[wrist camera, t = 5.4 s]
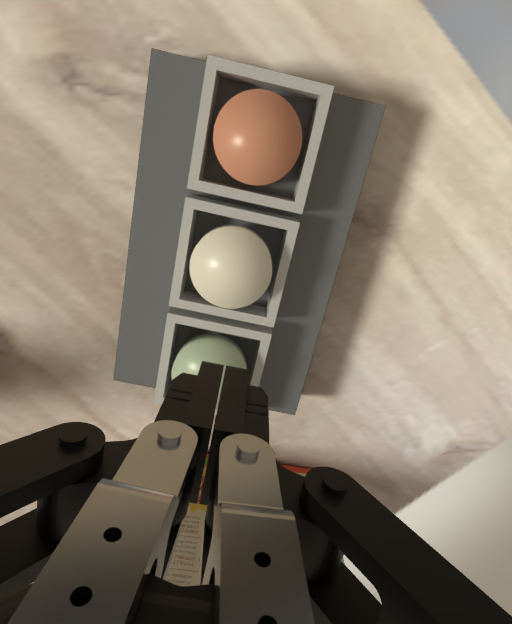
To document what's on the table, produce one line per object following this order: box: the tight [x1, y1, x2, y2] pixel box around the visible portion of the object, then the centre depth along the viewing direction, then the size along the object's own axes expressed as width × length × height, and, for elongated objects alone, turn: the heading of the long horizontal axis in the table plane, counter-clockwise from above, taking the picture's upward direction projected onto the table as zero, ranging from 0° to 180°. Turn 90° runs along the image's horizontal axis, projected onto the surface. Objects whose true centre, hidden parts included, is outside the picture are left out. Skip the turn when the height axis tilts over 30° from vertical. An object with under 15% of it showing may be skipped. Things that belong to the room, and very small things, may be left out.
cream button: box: [189, 224, 272, 309], centre depth 26 cm, size 5×5×2 cm
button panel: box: [114, 48, 385, 415], centre depth 28 cm, size 22×14×5 cm, turn 168°
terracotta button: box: [213, 89, 302, 186], centre depth 24 cm, size 5×5×2 cm
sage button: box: [171, 334, 247, 409], centre depth 28 cm, size 5×5×2 cm
